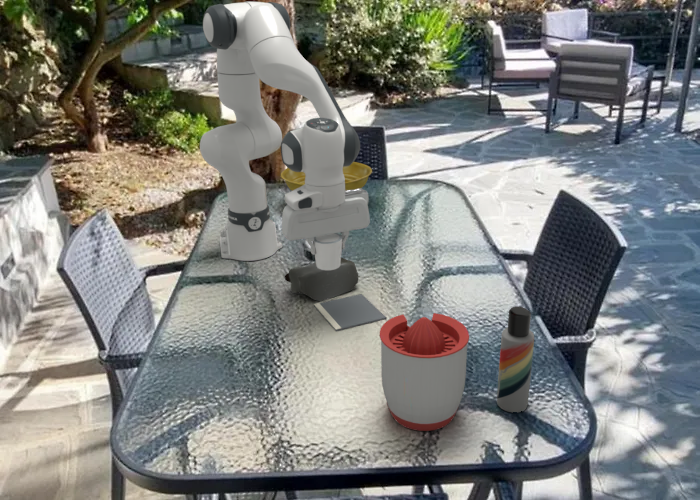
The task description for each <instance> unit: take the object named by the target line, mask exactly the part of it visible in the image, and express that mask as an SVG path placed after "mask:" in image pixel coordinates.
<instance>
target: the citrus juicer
mask: <svg viewBox="0 0 700 500" xmlns="http://www.w3.org/2000/svg"><path fill="white" fill-rule="evenodd" d="M379 338H380V343H381V344H380V347H381V348H380V350H381V351H380V355H381V356H380V357H381V358H380V359H381V360H380V361H381V367H380V368H381V371H380V373H381V374H380V375H381V385H382V390H383V391H382V392H383V395H384V398H385V400H386V405H387V408H388V410H389V412H390V415H391V416H392V418H393V419H394V420H395V421H396V422H397V423H398V424H399V425H401V426H402V427H405V428H407V429H410V430H413V431H420V432H429V431H436V430H440V429H441V428H445V427H446V426H447V425H448V424H450V423H451V422H452V420H453V419H454V417H455V415H456V413H457V412H458V410H459V408H460V407H459V406H460V404H461V401H462V398H463V395H464V391H465V385H466V378H467V377H466V376H467V359H468V358H467V355H468V343H469V340H470V333H469V330H468V329H467V328H466V326H465V325H464V324H463V323H462V322H461V321H459V320H457V319H456V318H454V317H451V316H449V315H446V314H441V313H436V312H434V313H433V314H432V318H431V319H429V318H428V317H425V316H422V317H421V318H419V319H418V320H416V321H415V322H414V323H413V324H412V325H410V326H409V325H408V320H407V318H406V316H405V315H404V314H399V315H396V316H394V317H391V318H390V319H388V320H387V321H385V322H384V324H383V325H381V327H380V330H379Z"/></svg>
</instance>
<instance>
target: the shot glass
mask: <svg viewBox="0 0 700 500" xmlns="http://www.w3.org/2000/svg"><path fill="white" fill-rule="evenodd" d="M341 235H342V234H341V233H334V234H328V235H322V236H317V237H314V241H312V243H313V244H314V246H315V247H316V253H317V254H315V255H314V258H315V262H316V266H317V268H319V269H321V270H334V269H337V268H339V267H340V264H341V258H342V250H343V249H342V236H341Z"/></svg>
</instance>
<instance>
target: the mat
mask: <svg viewBox="0 0 700 500" xmlns="http://www.w3.org/2000/svg"><path fill="white" fill-rule="evenodd" d="M313 307H314V308H315V309H316V311H318V312H319V314H320V315H321V316H322V317H323V318H324V319H325V321H326V322H327V323H328V324H329V325H330V326H331V328H333V330H334V331H335V332H339V331H343V330H346V329H350V328H354V327H355V328H356V327H358V326H362V325H367V324H370V323H375V322H378V321H379V322H380V321H384V320H386V319H387V316H386V315H385V314H383V312H381V311H380V310H379V309H378V308H377V307H376V306H375V305H374V304H373V303H372V302H371V301H370V300H369V299H368V298H366V297H365V296H364V295H363V294H362V293H359V294H354V295H351V296H346V297H342V298H337V299H331V300H328V301H325V302H324V301H323V302H317V303H314V304H313Z"/></svg>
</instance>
